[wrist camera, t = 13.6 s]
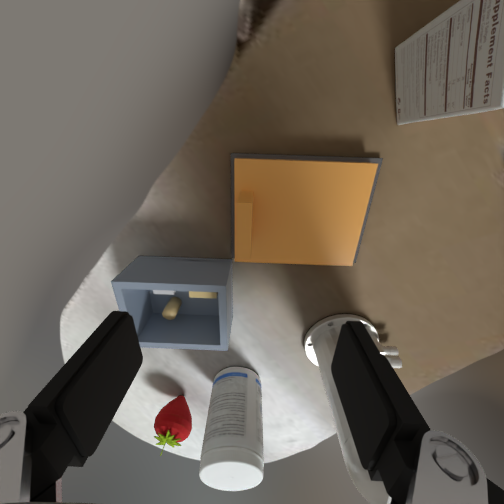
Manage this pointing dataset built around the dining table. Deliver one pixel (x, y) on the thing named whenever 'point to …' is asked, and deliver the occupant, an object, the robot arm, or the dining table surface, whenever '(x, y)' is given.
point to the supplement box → (452, 64)
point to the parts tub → (178, 301)
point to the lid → (300, 210)
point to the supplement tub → (233, 432)
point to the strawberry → (173, 422)
